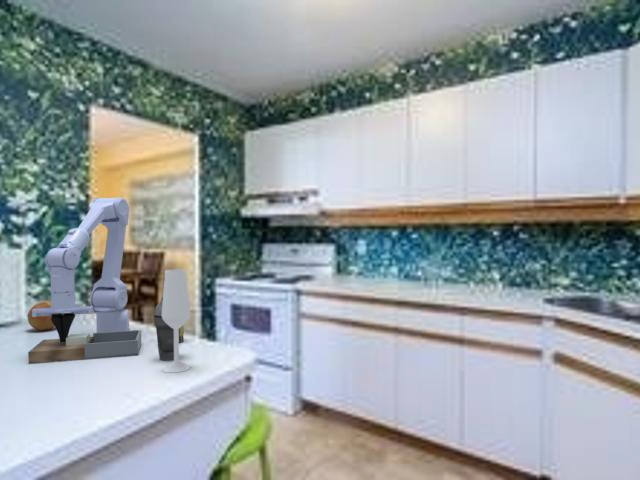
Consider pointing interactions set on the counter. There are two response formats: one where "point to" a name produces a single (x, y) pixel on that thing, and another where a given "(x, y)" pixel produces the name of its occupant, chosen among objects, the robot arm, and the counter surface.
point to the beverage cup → (164, 335)
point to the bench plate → (56, 351)
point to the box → (113, 344)
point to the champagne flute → (175, 311)
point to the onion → (40, 317)
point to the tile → (78, 339)
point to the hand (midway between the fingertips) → (63, 341)
